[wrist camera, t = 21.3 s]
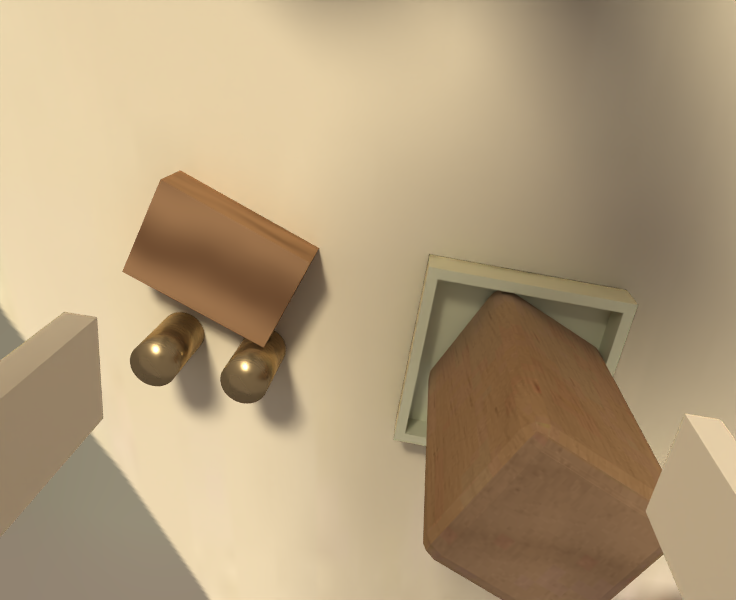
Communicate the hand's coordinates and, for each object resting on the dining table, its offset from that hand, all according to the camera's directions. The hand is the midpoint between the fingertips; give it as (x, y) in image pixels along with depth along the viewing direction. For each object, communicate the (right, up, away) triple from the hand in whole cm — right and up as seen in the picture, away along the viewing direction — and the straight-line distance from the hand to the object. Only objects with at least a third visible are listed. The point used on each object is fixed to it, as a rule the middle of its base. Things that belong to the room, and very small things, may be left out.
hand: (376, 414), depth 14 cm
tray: (+11, -2, +36) cm, 38 cm away
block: (+11, -2, +36) cm, 38 cm away
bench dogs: (-12, -1, +38) cm, 40 cm away
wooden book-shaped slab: (-11, +6, +36) cm, 38 cm away
